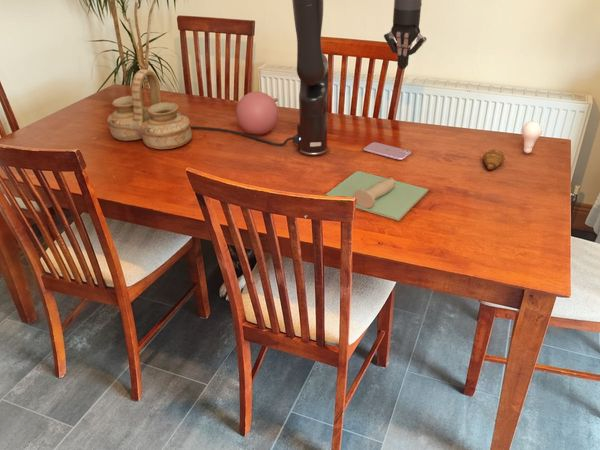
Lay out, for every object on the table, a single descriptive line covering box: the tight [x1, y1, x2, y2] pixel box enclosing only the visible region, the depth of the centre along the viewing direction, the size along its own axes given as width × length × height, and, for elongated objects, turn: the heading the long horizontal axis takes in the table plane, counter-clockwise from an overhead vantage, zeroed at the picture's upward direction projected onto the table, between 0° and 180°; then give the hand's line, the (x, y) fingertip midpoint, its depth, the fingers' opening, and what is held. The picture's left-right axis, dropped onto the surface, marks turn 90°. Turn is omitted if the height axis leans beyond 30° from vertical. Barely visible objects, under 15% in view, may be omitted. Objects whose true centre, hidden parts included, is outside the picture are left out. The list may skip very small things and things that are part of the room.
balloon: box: [235, 91, 279, 136], centre depth 201 cm, size 15×20×15 cm
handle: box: [354, 177, 397, 208], centre depth 157 cm, size 5×6×15 cm
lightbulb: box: [521, 120, 543, 154], centre depth 181 cm, size 6×6×11 cm
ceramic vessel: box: [106, 68, 193, 150], centre depth 195 cm, size 34×18×25 cm, turn 61°
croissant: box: [482, 148, 506, 171], centre depth 176 cm, size 14×7×5 cm, turn 155°
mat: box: [324, 170, 429, 222], centre depth 161 cm, size 24×20×1 cm
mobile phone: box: [363, 141, 412, 161], centre depth 186 cm, size 8×1×15 cm
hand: (402, 67), depth 163 cm, fingers closed
